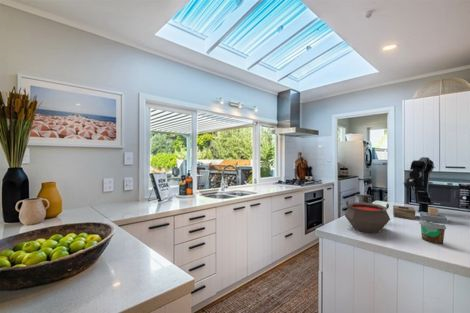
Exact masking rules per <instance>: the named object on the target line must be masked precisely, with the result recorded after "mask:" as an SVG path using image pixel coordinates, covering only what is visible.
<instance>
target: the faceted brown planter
mask: <svg viewBox="0 0 470 313" xmlns="http://www.w3.org/2000/svg"><path fill="white" fill-rule="evenodd" d="M345 203H346V206H347V209H346V211H345V213H344V216H345V218H346V220H347V221H348V222H349V224H350V225H351V227H352V228H354V229H355V230H356V231H358V232H359V231H360V232H362V233H363V232H364V233H368V234H379V232H380V231H382V229H384V227H385V226H386V225H387V224H388V223H389V222H390V221H391V217H390V215H389V213H388V211H387V210H389V208H390V204H389V203H386V206H384V205H381V204H377V203H372V204H371V203H364V202H355V201H354V202H352V201H351V202H349V201H348V200H346V201H345Z"/></svg>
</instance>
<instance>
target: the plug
mask: <svg viewBox="0 0 470 313" xmlns="http://www.w3.org/2000/svg"><path fill="white" fill-rule="evenodd" d="M438 214H439V209H438V208H437V207H430V206H428V215H431V216H438Z"/></svg>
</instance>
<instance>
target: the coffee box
mask: <svg viewBox="0 0 470 313" xmlns="http://www.w3.org/2000/svg"><path fill="white" fill-rule="evenodd" d="M354 198H355V199H354V202H364V203H371V204H373V195H370V194H367V193H365V194H361V193H357V194H355V195H354Z"/></svg>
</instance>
